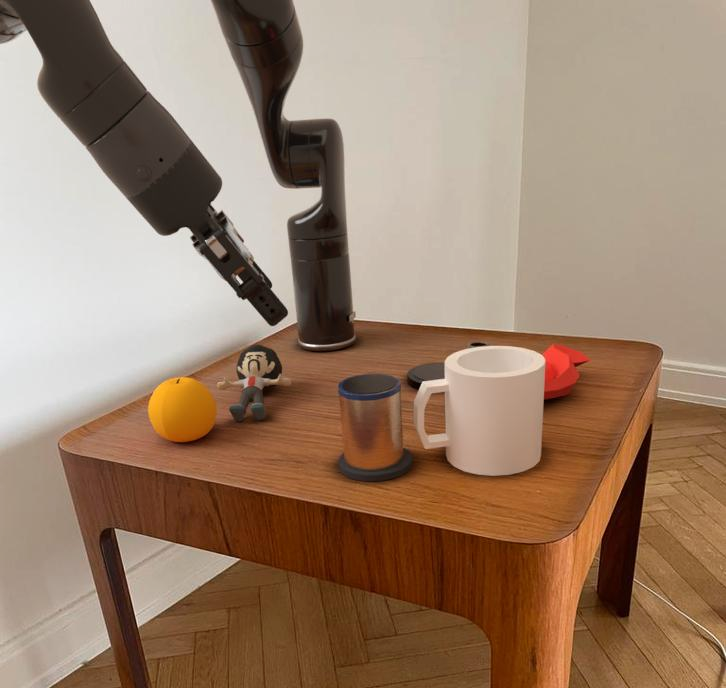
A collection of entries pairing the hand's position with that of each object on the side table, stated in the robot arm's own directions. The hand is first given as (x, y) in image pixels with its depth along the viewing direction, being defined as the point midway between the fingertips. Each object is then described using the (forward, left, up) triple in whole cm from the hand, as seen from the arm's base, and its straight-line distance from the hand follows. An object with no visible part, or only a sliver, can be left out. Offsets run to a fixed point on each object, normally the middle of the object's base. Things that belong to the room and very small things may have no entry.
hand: (272, 304), depth 73 cm
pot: (+3, +9, -17) cm, 19 cm away
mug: (+5, +20, -18) cm, 28 cm away
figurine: (-22, 0, -18) cm, 29 cm away
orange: (-14, -10, -18) cm, 25 cm away
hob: (-19, +25, -18) cm, 36 cm away
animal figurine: (-10, +35, -18) cm, 41 cm away
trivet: (+3, +9, -18) cm, 20 cm away
